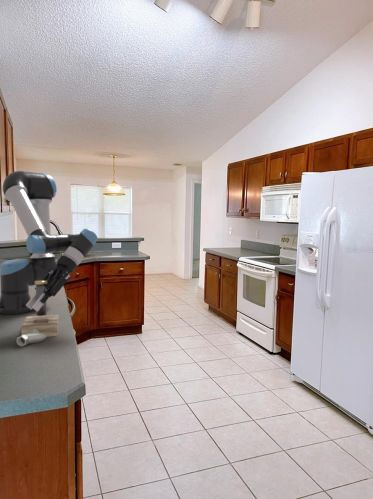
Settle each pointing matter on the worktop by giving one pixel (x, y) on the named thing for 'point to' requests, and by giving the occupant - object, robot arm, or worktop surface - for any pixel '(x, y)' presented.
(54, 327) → the socket block
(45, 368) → the worktop surface
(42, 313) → the gold-capped peg
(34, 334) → the pipe fitting
